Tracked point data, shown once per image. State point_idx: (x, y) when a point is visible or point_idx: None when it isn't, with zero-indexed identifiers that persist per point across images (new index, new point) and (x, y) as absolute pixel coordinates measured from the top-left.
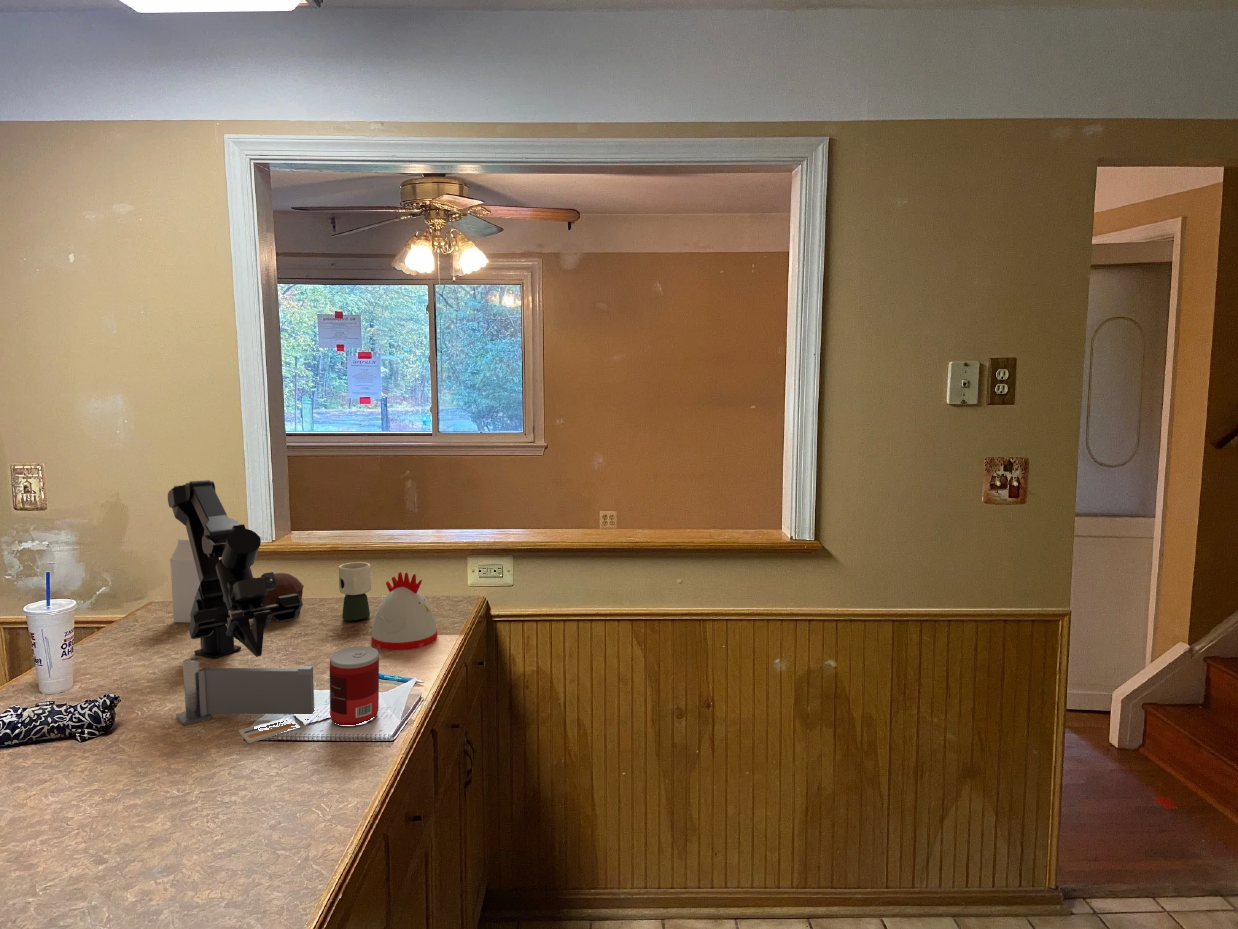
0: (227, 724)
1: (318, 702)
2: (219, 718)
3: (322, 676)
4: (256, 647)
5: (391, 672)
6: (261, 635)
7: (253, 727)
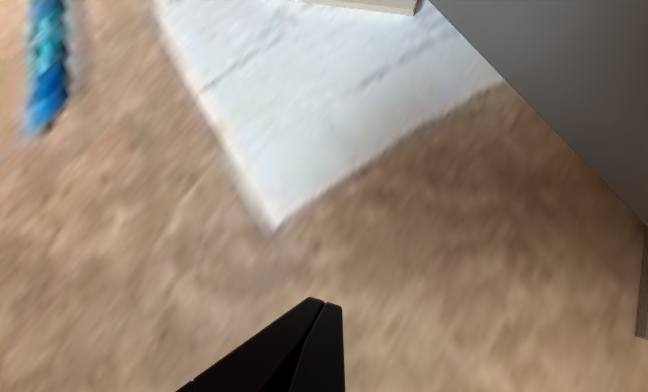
0: None
1: (297, 48)
2: (619, 199)
3: (122, 239)
4: (321, 333)
5: (12, 78)
6: (209, 384)
7: None
